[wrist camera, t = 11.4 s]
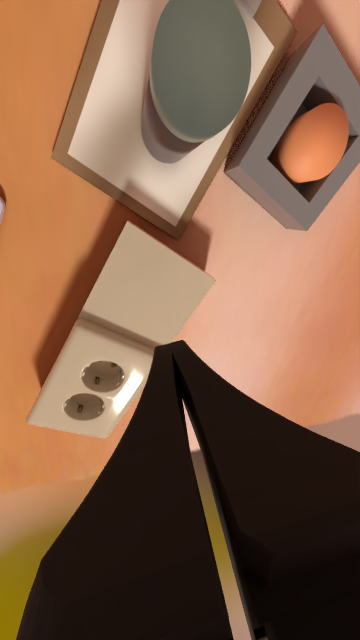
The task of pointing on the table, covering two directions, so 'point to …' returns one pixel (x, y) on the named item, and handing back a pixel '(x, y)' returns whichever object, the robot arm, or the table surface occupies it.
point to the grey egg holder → (273, 118)
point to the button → (312, 144)
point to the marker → (194, 76)
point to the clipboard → (127, 107)
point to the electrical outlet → (119, 334)
